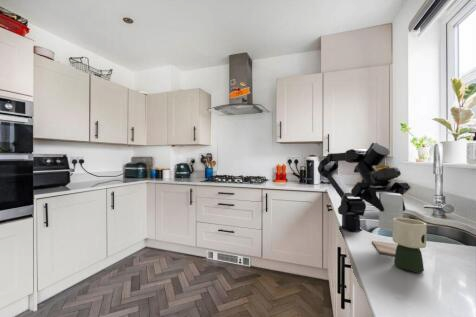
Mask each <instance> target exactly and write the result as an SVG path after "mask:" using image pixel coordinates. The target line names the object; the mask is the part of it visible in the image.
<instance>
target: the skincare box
mask: <svg viewBox="0 0 476 317" xmlns="http://www.w3.org/2000/svg"><path fill="white" fill-rule="evenodd" d="M378 198H379V200H380V202H381V204H382V205H383V207H384V211H383V212H382V211H380V210H379V209H378V226H379V229H380V230H381V231H387V232H388V231H389V232H393V218H404V211H403V201H404V194H403V195H401V194H397V193H388V192H378Z"/></svg>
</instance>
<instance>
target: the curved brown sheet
mask: <svg viewBox="0 0 476 317" xmlns="http://www.w3.org/2000/svg"><path fill="white" fill-rule="evenodd" d="M371 243H372V244H373V246H374V248H375V249H376V250H377V252H378V253H379V254H380V255H386V256H392V257H395V253H396V248H397V245H398V244H397V243H392V242H383V241H376V240H372V241H371Z"/></svg>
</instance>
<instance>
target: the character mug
mask: <svg viewBox="0 0 476 317" xmlns="http://www.w3.org/2000/svg"><path fill="white" fill-rule="evenodd" d="M392 242H394V244H398V245H397V248H396V253H395V256H394V265H395V266H397V267H399V268H401V269H404V270H407V271H409V272H411V271H412V272H414V273H423V272H425V267H424V260H423V255H422V254H423V253H422V251H421V249H425V248H426V247H427V222H424V221H421V220H418V219H413V218H409V217H403V218H393V231H392Z"/></svg>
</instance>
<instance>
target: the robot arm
mask: <svg viewBox="0 0 476 317" xmlns="http://www.w3.org/2000/svg"><path fill="white" fill-rule="evenodd" d="M389 155H390V150H389V148H387V147H385V146H383V145H381V144H379V143H378V142H372V143H370V146H369V148H368V149H363V148H362V149H359V148H357V149H355V148H353V149H352V148H351V149H348V150H345V152H337V153H336V152H334V153H332V152H331V153H327V155H326V157H325V158H323V159H322V160H321V161H320V162H319V164H318V166H317V172H318V174H319V175H320V176H321V177H323V178H324V179H327V180H328V182H329V183H330V185H331V186H332V188H333V189H334V190H335V191H336V193H337V195H338V196H339V197H340V205H339V207H337V213H338V214H339V215H341V225H339V226H338V228H340V229H343V230H345V231H347V232H350V233H353V232H360V231H361V230H362V231H363V228H361V219H360V216H362V217H363V216H364V215H365V211H366V208H367V205H366V203H368V204H369V205H371V206H373V207H374V208H376V209H377V210H378V211H379V210H380V211H382V212H383V211H384V207H383V205H382V204H381V202H380V200H379V196H378V195H377V193H379V192H382V193H397V194H401V195H403V196H404V194H406V193H407V192H408V191H409V190H410V189H411V188H412V187H411V186H410V184H409V183H408V182H404V181H403V182H402V181H401V182H400V181H398V182H397V181H395V182H394V183H393V184H392V185H389V184H391V182H392V181H391V180H393V179H398V177H400V176H401V175H402V174H401V171H400V169H399V168H398V167H395V166H393V167H382V168H380V169H377V168H376V167H378V166H380V165H381V164H382V163H383V162H384V161H385V159H387V157H388V156H389ZM331 162H333V163H331ZM339 162H346V163H350V164H356V165H355V166H354V169H353V173H356V174H357V173H358V174H359V175H360V177H361V178H362V180H361V181H357V182H356V183H355V185H354V186H353V187H352V189H351V190H350V188H348V186H347V185H346V184H345V182H344V181H343V180H342V178H341V177H340V176H339V175H338V173H337V172H338V168H339ZM388 185H389V186H388ZM405 211H406V204H405V200H403V212H405Z"/></svg>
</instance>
